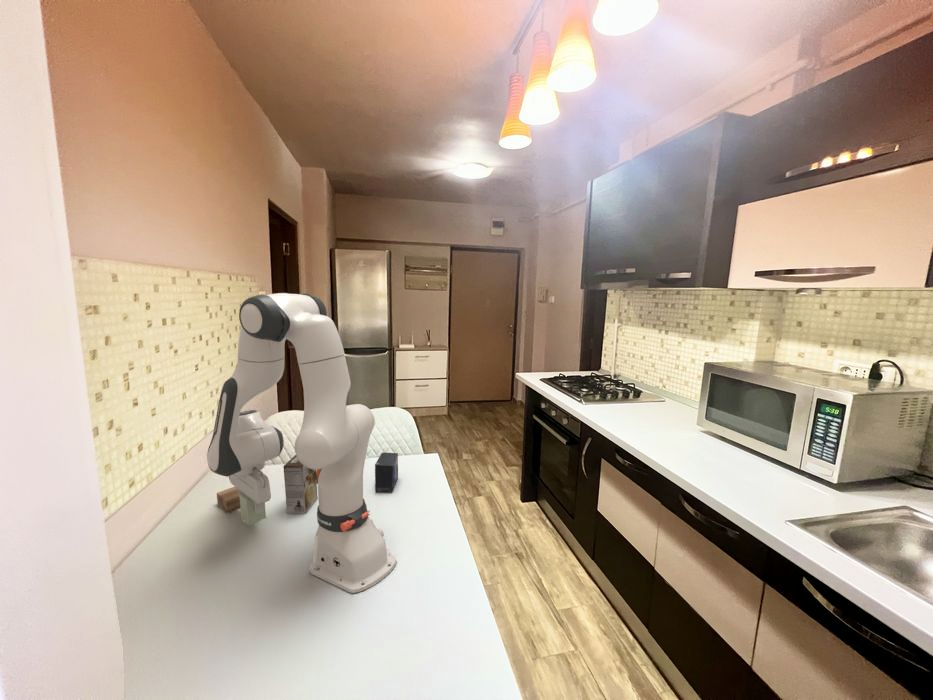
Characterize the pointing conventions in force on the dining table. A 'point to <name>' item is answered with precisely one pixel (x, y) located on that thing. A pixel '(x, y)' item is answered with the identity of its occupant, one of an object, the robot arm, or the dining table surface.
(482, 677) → the dining table surface
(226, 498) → the base block
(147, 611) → the dining table surface
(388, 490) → the small box
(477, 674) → the dining table surface
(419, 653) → the dining table surface
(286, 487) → the coffee box
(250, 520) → the sage block
